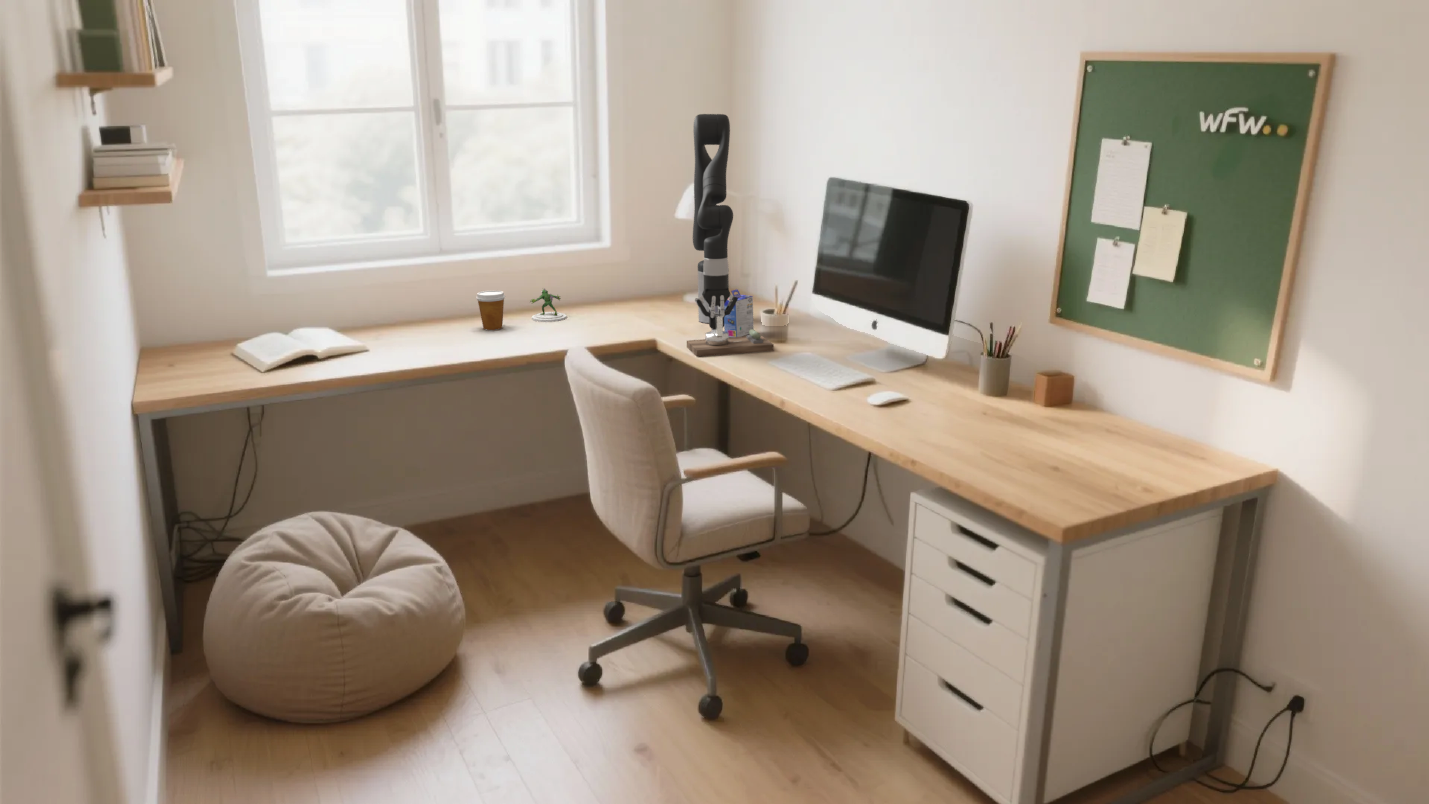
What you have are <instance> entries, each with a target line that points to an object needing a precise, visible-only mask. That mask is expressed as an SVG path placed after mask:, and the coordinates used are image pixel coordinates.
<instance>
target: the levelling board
mask: <svg viewBox="0 0 1429 804" xmlns="http://www.w3.org/2000/svg"><path fill="white" fill-rule="evenodd" d="M686 348H687V349H688V350H689V351H690V352H691V353H692V354H693V356H696V358H697V357H698V358H699V357H708V356H709V357H711V356H724V355H735V354H736V355H737V354H750V353H751V354H752V353H762V352H763V353H764V352H773V351H774V348H775V347H774V344H773V343H772V342H771V341H770V340H768V339H767V338H765V337H764V336H763V335H762V334H760V333H759V332H758V331H756V330H755V329H751V330H750V331H749V334H747V335H744V336H741V337H728V344H727V345H722V346H711V345H707V344H706V341H705V339H704V338H703V339H693V340H691V339H690V340H686Z"/></svg>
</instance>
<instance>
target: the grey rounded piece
mask: <svg viewBox="0 0 1429 804" xmlns="http://www.w3.org/2000/svg"><path fill="white" fill-rule="evenodd" d="M714 318H715V330H712V329H711V328H710V329H711V331H708V332H704V333H705V341H706V344H707V345H711V346H722V345H727V344H728V338H729V337H728V332H725V330H723V329H724V327H723V317H722V316H721V315H720V314H719V313H717V312H715V313H714Z"/></svg>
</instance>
